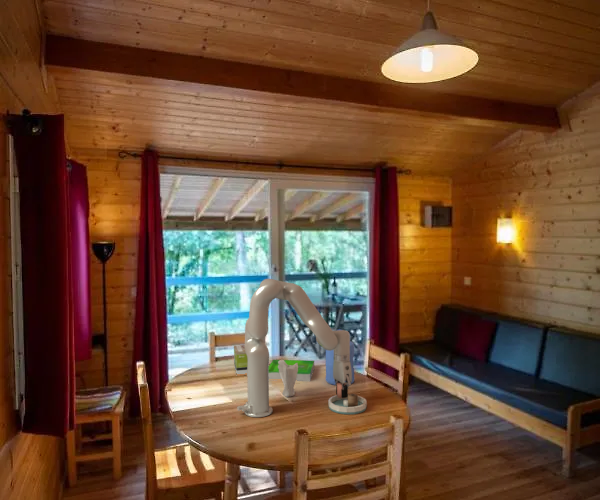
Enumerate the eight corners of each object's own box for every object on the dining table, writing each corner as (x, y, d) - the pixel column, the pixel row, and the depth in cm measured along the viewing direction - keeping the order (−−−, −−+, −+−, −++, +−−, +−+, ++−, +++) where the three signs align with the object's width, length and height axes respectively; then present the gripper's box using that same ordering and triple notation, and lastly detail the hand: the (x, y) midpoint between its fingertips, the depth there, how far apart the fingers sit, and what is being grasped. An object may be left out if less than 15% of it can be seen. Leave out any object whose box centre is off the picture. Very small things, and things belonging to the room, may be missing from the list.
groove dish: (341, 417, 197) (341, 410, 197) (321, 404, 212) (321, 397, 212) (373, 410, 204) (373, 403, 204) (352, 398, 220) (352, 392, 220)
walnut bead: (351, 410, 201) (351, 397, 201) (346, 407, 205) (346, 394, 205) (359, 409, 203) (359, 395, 203) (354, 405, 207) (354, 392, 207)
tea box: (233, 369, 269) (233, 344, 269) (250, 368, 272) (250, 343, 271) (236, 377, 255) (236, 351, 254) (254, 375, 257) (253, 349, 257)
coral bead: (340, 398, 209) (340, 385, 209) (335, 395, 213) (335, 383, 213) (348, 397, 211) (348, 384, 211) (343, 394, 215) (343, 381, 215)
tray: (273, 367, 274) (273, 359, 274) (314, 368, 271) (314, 360, 271) (264, 381, 249) (264, 372, 249) (310, 382, 246) (310, 373, 246)
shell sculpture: (300, 395, 224) (300, 359, 224) (288, 399, 218) (288, 362, 218) (288, 391, 230) (288, 356, 230) (276, 395, 224) (276, 359, 224)
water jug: (342, 388, 235) (342, 334, 234) (319, 381, 245) (319, 330, 244) (360, 380, 246) (360, 329, 245) (337, 375, 257) (337, 326, 256)
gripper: (358, 360, 206) (358, 400, 207) (339, 352, 221) (339, 389, 222) (344, 362, 203) (344, 403, 203) (325, 354, 218) (326, 391, 218)
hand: (341, 395), depth 212 cm, fingers closed on coral bead, 4 cm apart
